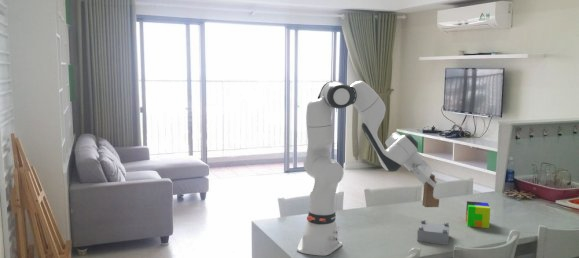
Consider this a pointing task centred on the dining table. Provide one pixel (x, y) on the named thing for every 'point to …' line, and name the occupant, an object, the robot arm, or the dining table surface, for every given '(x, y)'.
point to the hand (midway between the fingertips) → (435, 184)
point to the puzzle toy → (478, 214)
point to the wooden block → (429, 195)
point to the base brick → (433, 232)
